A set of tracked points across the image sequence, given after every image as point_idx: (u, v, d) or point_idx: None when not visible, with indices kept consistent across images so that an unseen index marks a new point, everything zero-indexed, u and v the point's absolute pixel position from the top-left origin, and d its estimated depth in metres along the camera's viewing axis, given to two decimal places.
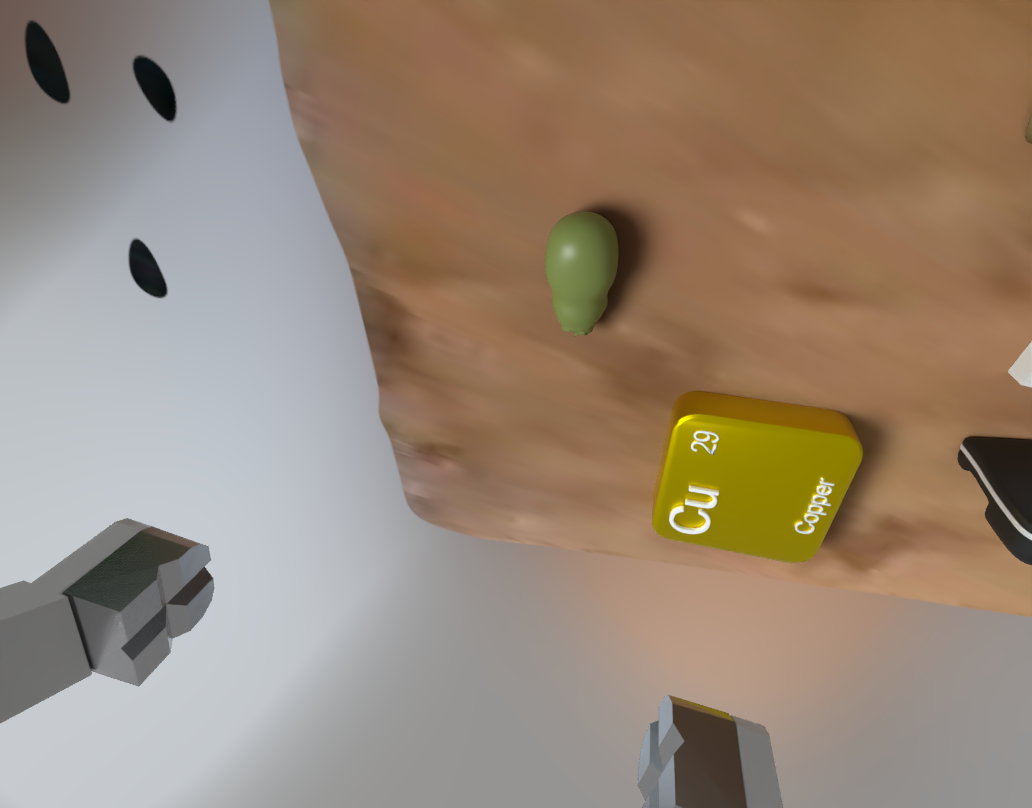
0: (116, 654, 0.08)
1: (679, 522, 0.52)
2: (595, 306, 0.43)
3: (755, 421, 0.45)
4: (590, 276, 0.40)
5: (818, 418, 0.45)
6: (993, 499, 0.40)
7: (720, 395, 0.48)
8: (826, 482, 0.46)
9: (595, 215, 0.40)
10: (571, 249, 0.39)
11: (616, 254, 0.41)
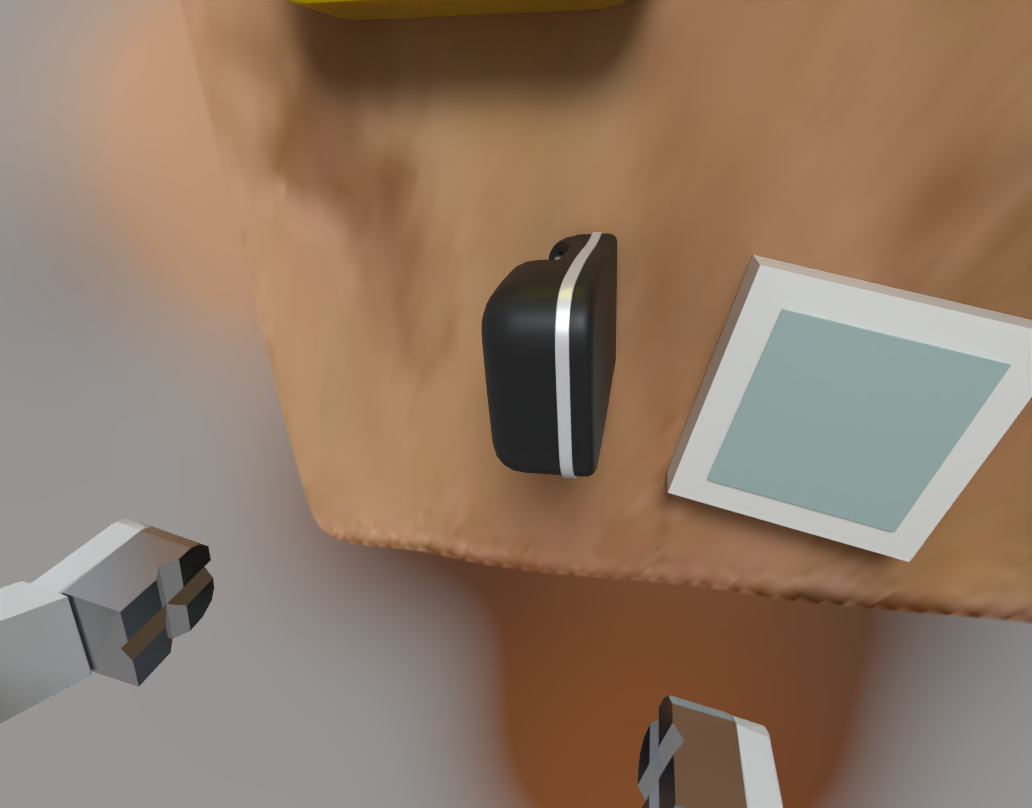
0: (116, 654, 0.08)
1: None
2: None
3: None
4: None
5: None
6: (571, 260, 0.20)
7: None
8: None
9: None
10: None
11: None
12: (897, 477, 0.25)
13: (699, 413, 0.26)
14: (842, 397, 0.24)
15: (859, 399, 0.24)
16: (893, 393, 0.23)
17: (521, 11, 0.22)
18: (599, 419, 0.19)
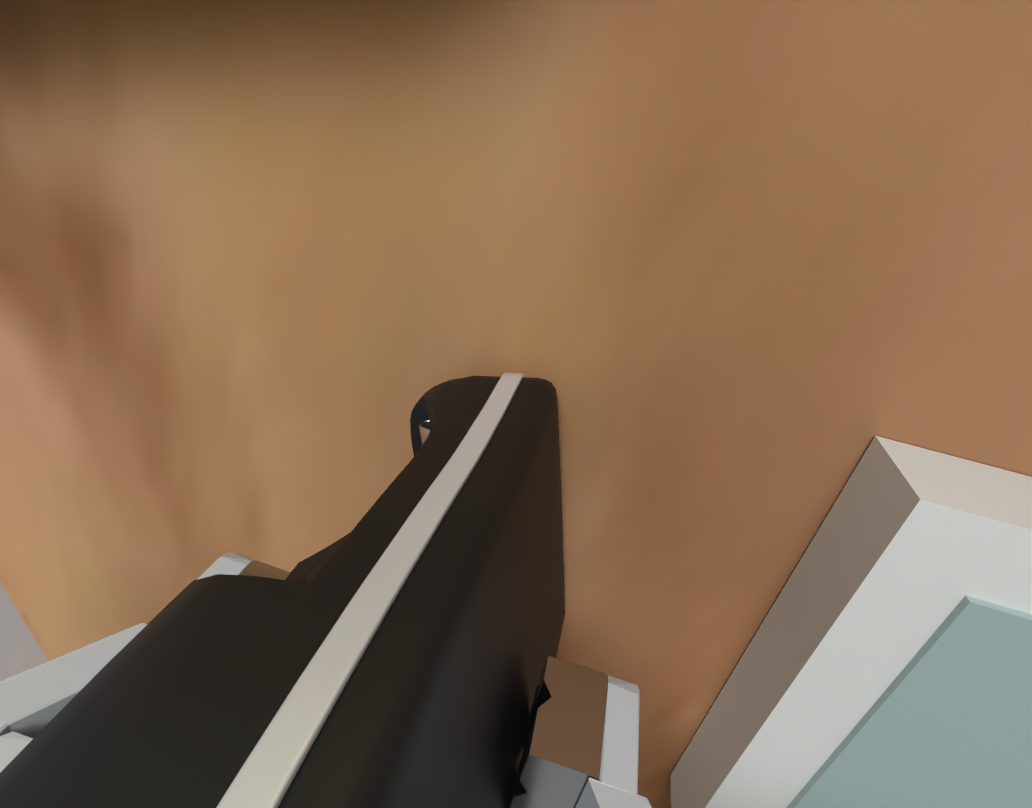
0: None
1: None
2: None
3: None
4: None
5: None
6: (337, 609, 0.06)
7: None
8: None
9: None
10: None
11: None
12: None
13: (741, 749, 0.12)
14: None
15: None
16: None
17: None
18: None
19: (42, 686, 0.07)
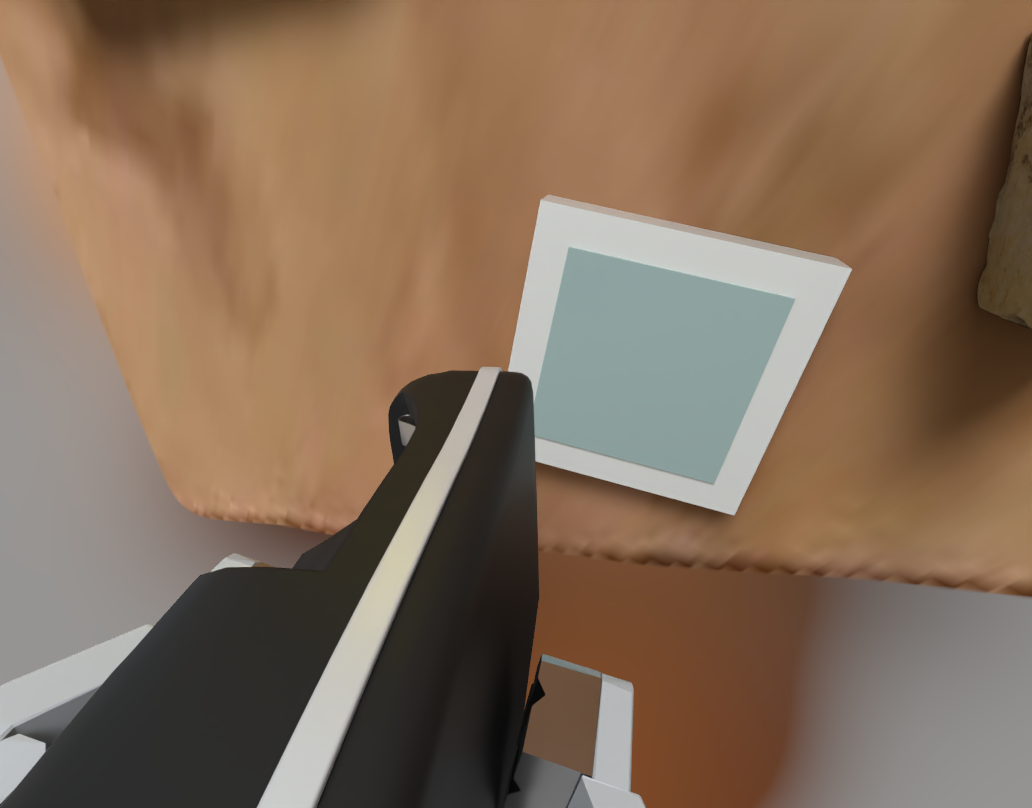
0: None
1: None
2: None
3: None
4: None
5: None
6: (354, 593, 0.06)
7: None
8: None
9: None
10: None
11: None
12: (707, 425, 0.24)
13: (510, 363, 0.25)
14: (642, 340, 0.23)
15: (657, 341, 0.23)
16: (688, 334, 0.23)
17: None
18: None
19: (48, 688, 0.07)
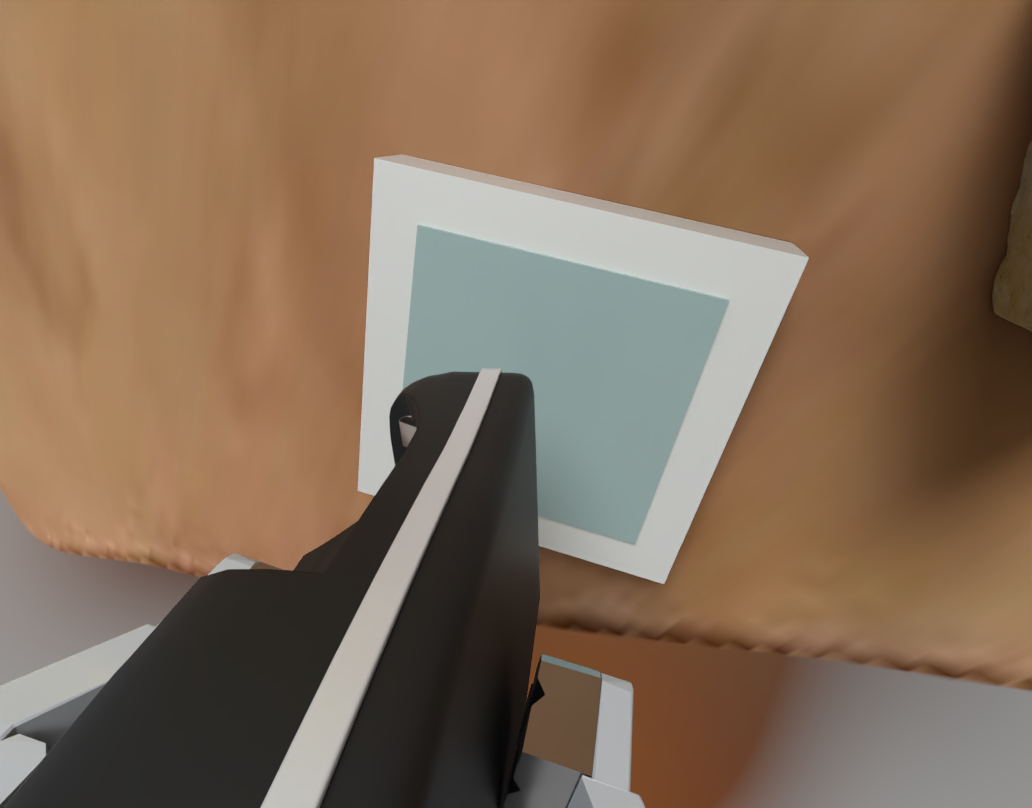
0: None
1: None
2: None
3: None
4: None
5: None
6: (355, 595, 0.06)
7: None
8: None
9: None
10: None
11: None
12: (621, 469, 0.18)
13: (364, 381, 0.19)
14: (527, 355, 0.17)
15: (546, 357, 0.17)
16: (587, 347, 0.16)
17: None
18: None
19: (48, 688, 0.07)
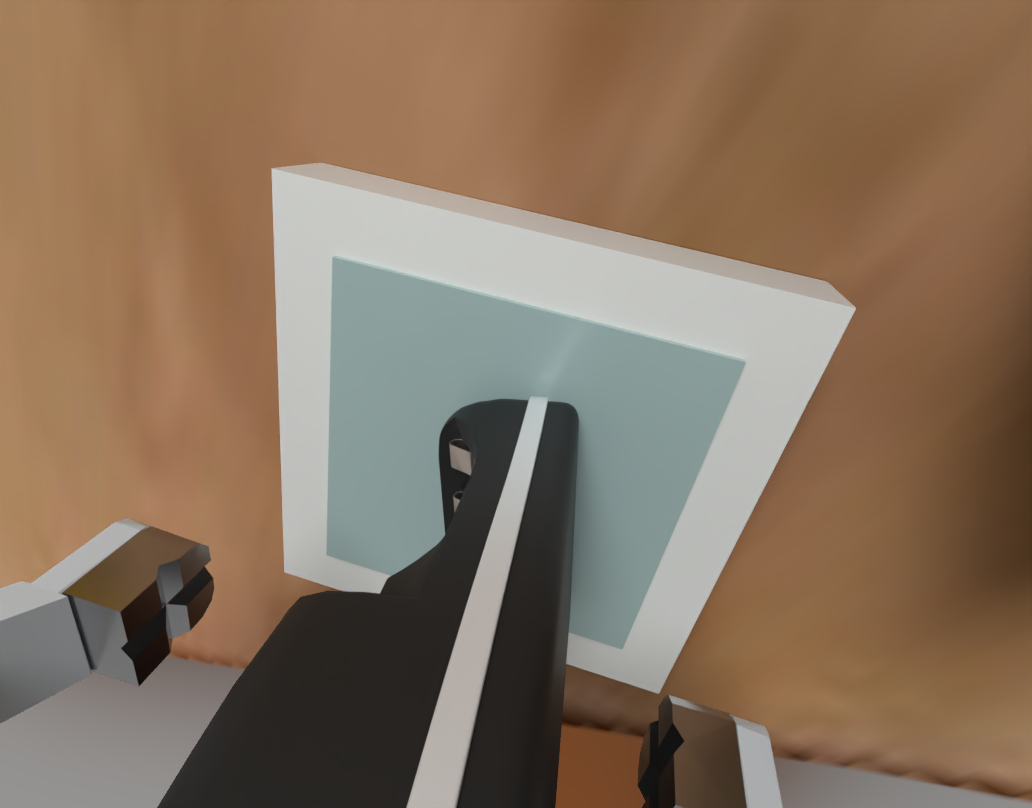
0: (116, 654, 0.08)
1: None
2: None
3: None
4: None
5: None
6: (450, 619, 0.06)
7: None
8: None
9: None
10: None
11: None
12: (603, 563, 0.14)
13: (283, 447, 0.15)
14: None
15: None
16: None
17: None
18: None
19: None
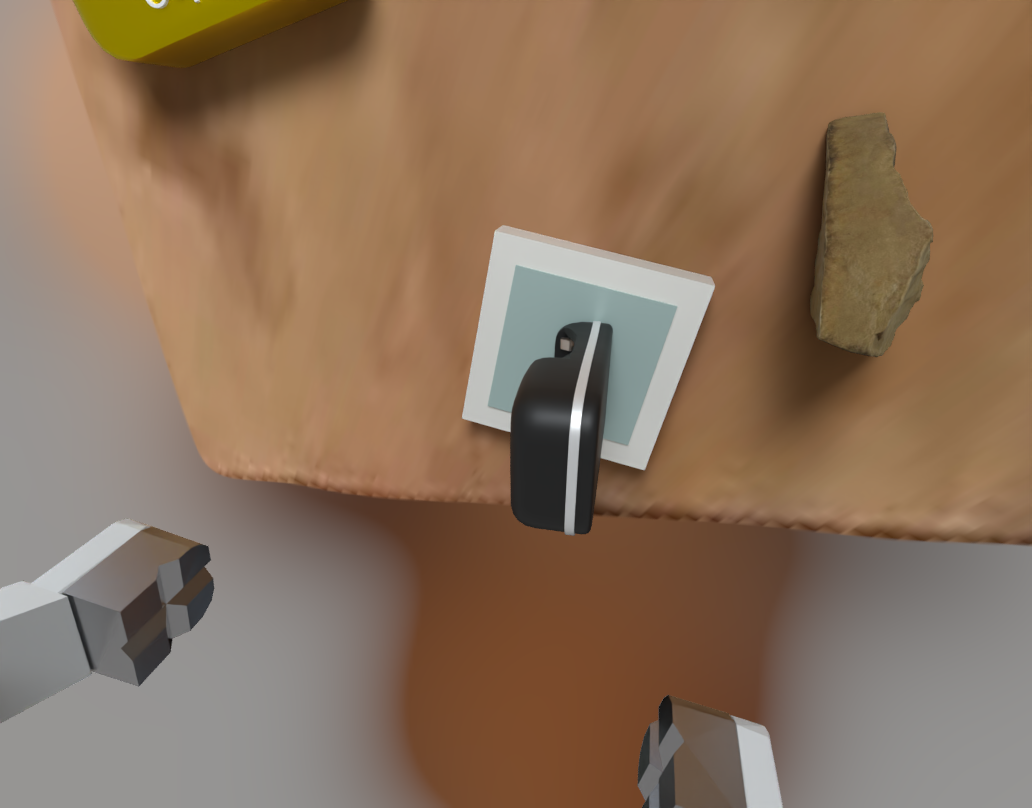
0: (116, 654, 0.08)
1: None
2: None
3: None
4: None
5: None
6: (579, 361, 0.25)
7: None
8: None
9: None
10: None
11: None
12: (620, 399, 0.32)
13: (474, 351, 0.33)
14: None
15: None
16: None
17: (297, 19, 0.29)
18: (595, 488, 0.24)
19: None
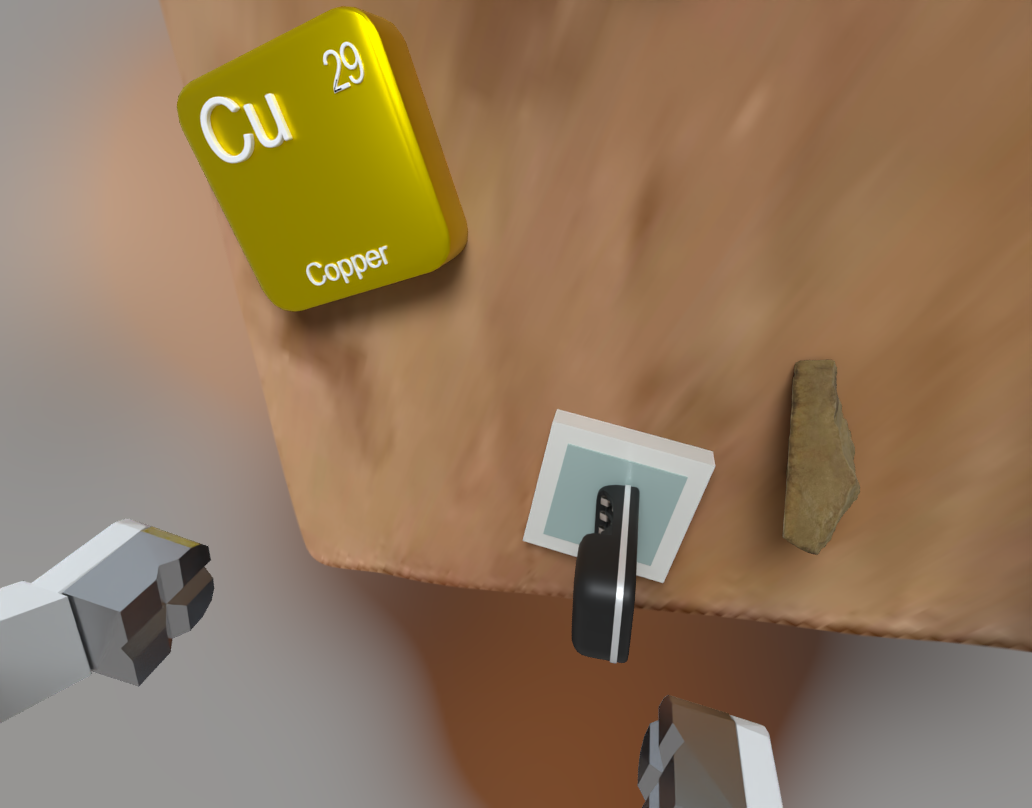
0: (116, 654, 0.08)
1: (214, 121, 0.34)
2: None
3: (408, 117, 0.32)
4: None
5: (450, 203, 0.35)
6: (618, 538, 0.35)
7: (414, 72, 0.34)
8: (384, 255, 0.35)
9: None
10: None
11: None
12: (645, 535, 0.43)
13: (534, 496, 0.44)
14: None
15: None
16: None
17: None
18: None
19: None
